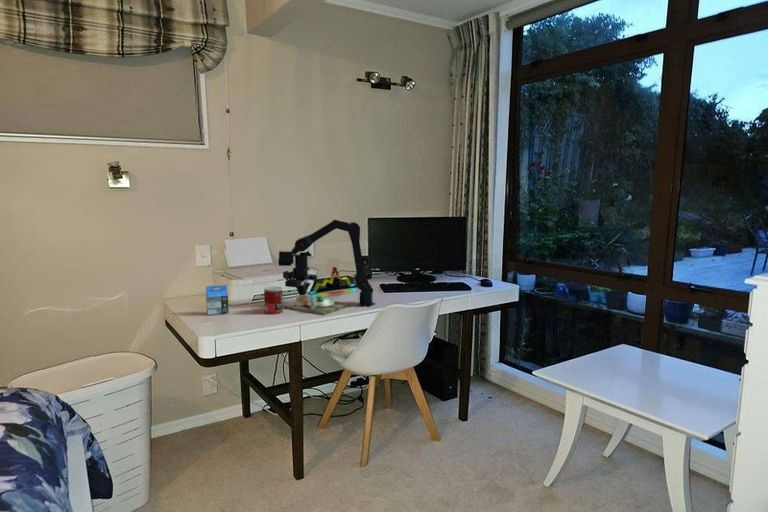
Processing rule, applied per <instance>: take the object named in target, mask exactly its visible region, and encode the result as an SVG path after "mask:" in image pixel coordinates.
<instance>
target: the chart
mask: <svg viewBox="0 0 768 512" xmlns="http://www.w3.org/2000/svg"><path fill="white" fill-rule="evenodd" d="M335 276H336V278H337V279H339V280H343V281H344V280H345V281H346V284H347V286H348V287H350V288H346V289H340V290H335V291H329V292H322V293H321V292H320V293H317V291H318V290H319V288H320V286H321V287H325V286H326V285H327V283H328V284H331V285H333V282H334V278H335ZM354 286H356V285H355V284H354V283H351V282H350V279H349V278H348V277H347V276H343V277H340V274H339V271H338V268H337V267H336V266H333V267H332V270H331V274H330V279H327V278H325V279H324V280H323V281H322V283H319V282H316V284H315V287H313V290H312V291H308V290H307V291H306V293H307V294H308V295H309V296H310V299H315V298H317V297H319V296H322V297H323V298H330V297H336V296H341V295H347V294H353V293H356V292H357V289H356V288H353V287H354ZM351 287H352V288H351Z"/></svg>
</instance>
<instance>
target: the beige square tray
mask: <svg viewBox="0 0 768 512" xmlns="http://www.w3.org/2000/svg"><path fill="white" fill-rule="evenodd" d="M288 307H289V308H288V309H289V310H293V311H297V312H305V313H310V314H315V315H320V316H325V315H329V314H331V313H334V312H337V311H340V310H342V309H345V308H348V307H351V303H349V302H344V301H337V300H334V305H333V306H330V307H322V308H316V299H311V307H309V306H296V304H293V305H289V306H288Z"/></svg>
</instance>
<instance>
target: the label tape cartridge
mask: <svg viewBox="0 0 768 512" xmlns="http://www.w3.org/2000/svg"><path fill="white" fill-rule="evenodd" d="M227 286H228V285H227V284H224V285H221V284H220V285H208V286H207V285H206V286H205V290H206V291H205V296H206V298H205V302H206V315H207V316H214V315H228V314H229V310H230V309H229V294H228V288H227ZM216 288H217V289H216Z"/></svg>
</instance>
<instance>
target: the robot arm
mask: <svg viewBox="0 0 768 512" xmlns="http://www.w3.org/2000/svg"><path fill="white" fill-rule="evenodd" d="M336 229H338V230H341V231H344V232H347V234H348V237H349V240H350V242H351V246H352V254H353V261H354V266H355V273H354V274H352V277H353V281H354V282H353V284H355V286H356V288H357V289H358V290H360V291H359V302H358V303H356V304H357V306H360V307H362V306H363V307H371V306H374V305H376V302H373V295H374V294H373V292H374V288H373V287H372V285H371V284H370V283H369V279H368V277H367V275H366V271H365V267H364V261H363V255H362V249H361V244H360V239H361V226H360V225H359V223H357V222H355V221H350V222H346V221H343V220H341V221H340V220H338V219H333V220H332V221H330V222H329V223H327V224H325V225H323V226H322V227H320V228H318V229H317V230H315V231H314V232H312V233H310V234H307V235H304V236H301V237H299V238H297V239H296V240H295V243H294V247H293V248H291V250H289V251H288V250H287V251H286V250H285V251H283V250H279V251H278V261H277V262H278V266H279V267H291V266H292V265H293V264H294V267H293V268H292V271H288V270H286V271H283V272H282V278H283V279H285V283H284V284H285V285H284V286H285V287H286V288H287V287H288V288H296V290H297V293H298V295H306V293H307V292H308V289H309V287H310V285H311V282H309V281H313V282H317V281H318V276H317V275H316V274H314V273H308V271H309V270H310V267H309V265H308V263H309V262H308V261H309V259H308V258H309V257H312V253H311V252H310V251H309V250H307V249H309V248H310V247H311V246H312V245H313V244H314V243H315V242H316V241H319V240H320V239H321V238H323V237H325V236H326V235H328V234H330V233H331V232H333V231H334V230H336ZM306 291H307V292H306Z"/></svg>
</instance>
